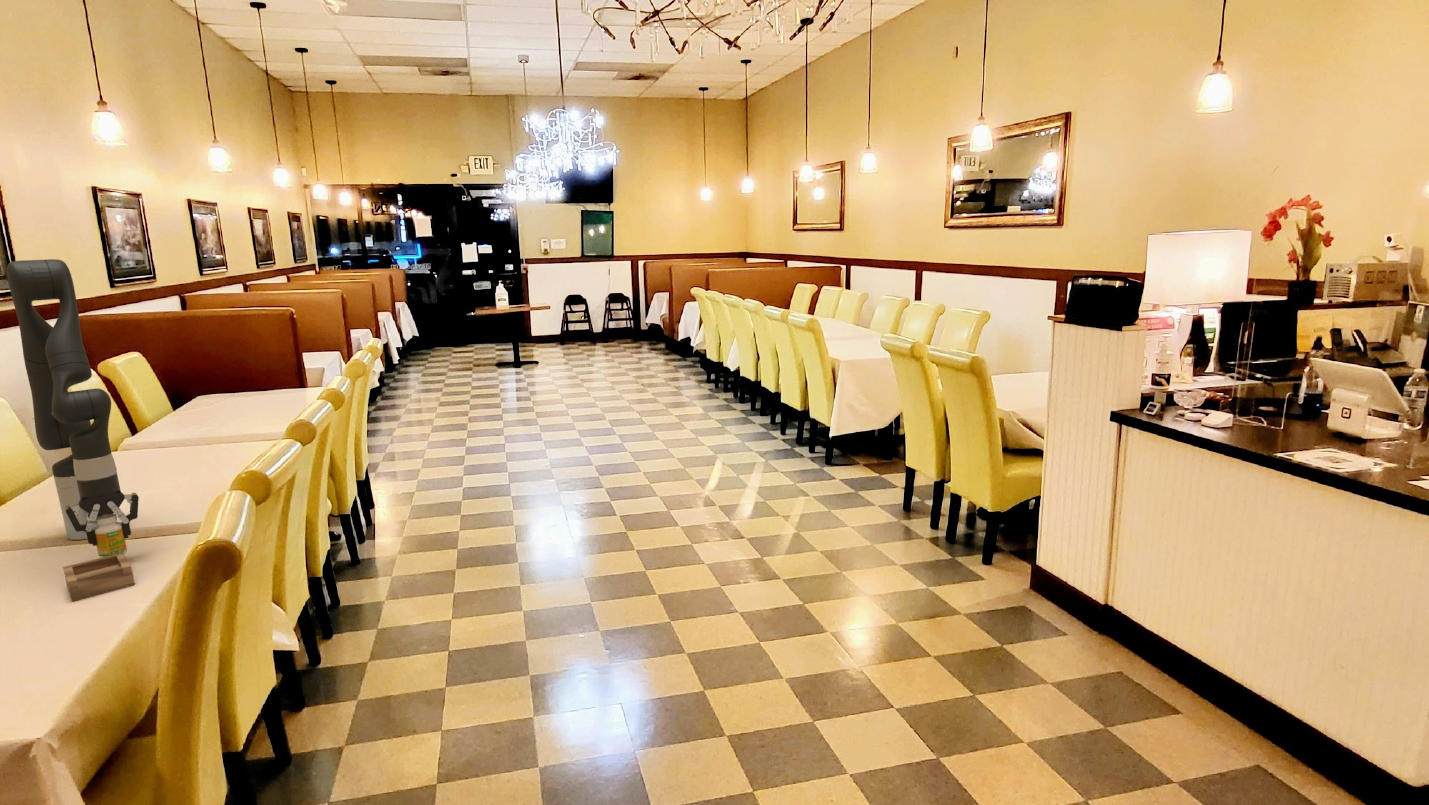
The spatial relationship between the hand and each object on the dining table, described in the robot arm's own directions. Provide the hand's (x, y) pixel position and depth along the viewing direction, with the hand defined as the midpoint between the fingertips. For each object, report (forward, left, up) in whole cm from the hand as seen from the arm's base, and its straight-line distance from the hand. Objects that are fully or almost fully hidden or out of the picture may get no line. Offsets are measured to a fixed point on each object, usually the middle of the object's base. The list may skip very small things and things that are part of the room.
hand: (110, 540), depth 181 cm
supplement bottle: (0, 0, -4) cm, 4 cm away
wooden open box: (+12, -4, -6) cm, 14 cm away
